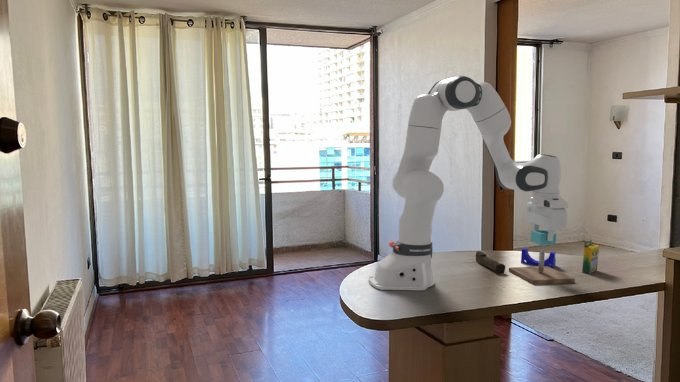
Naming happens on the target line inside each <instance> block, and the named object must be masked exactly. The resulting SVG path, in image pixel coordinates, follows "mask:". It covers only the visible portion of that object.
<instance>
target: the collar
mask: <svg viewBox="0 0 680 382" xmlns="http://www.w3.org/2000/svg"><path fill="white" fill-rule="evenodd" d="M548 233H549V231H548V229H547V230H546V229H545V230H544V229H542V230H540V229H539V230H531V231H530V242H531V243H534V244H536V245H539V246H549V245H550V246H552V245H554V246H555V245H556V244H557V233H556V232H555V234H554V236H553V241H548V240H546V235H548Z"/></svg>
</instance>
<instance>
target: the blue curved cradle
mask: <svg viewBox="0 0 680 382" xmlns="http://www.w3.org/2000/svg"><path fill="white" fill-rule="evenodd" d="M529 253H530V252H529V250H528V247H523V248H521V253H520V255H521V256H520V257H521V259H520V264H523V265H529V266H534V267H538V265H539V260H537V259H534V258H533V257H532V256H531V255H530V254H529ZM556 260H557V259H556V251H550V253H549V256H548V257H547V258H546V259H544V266H548V267H551V268H553V269H555V267H556Z"/></svg>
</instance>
